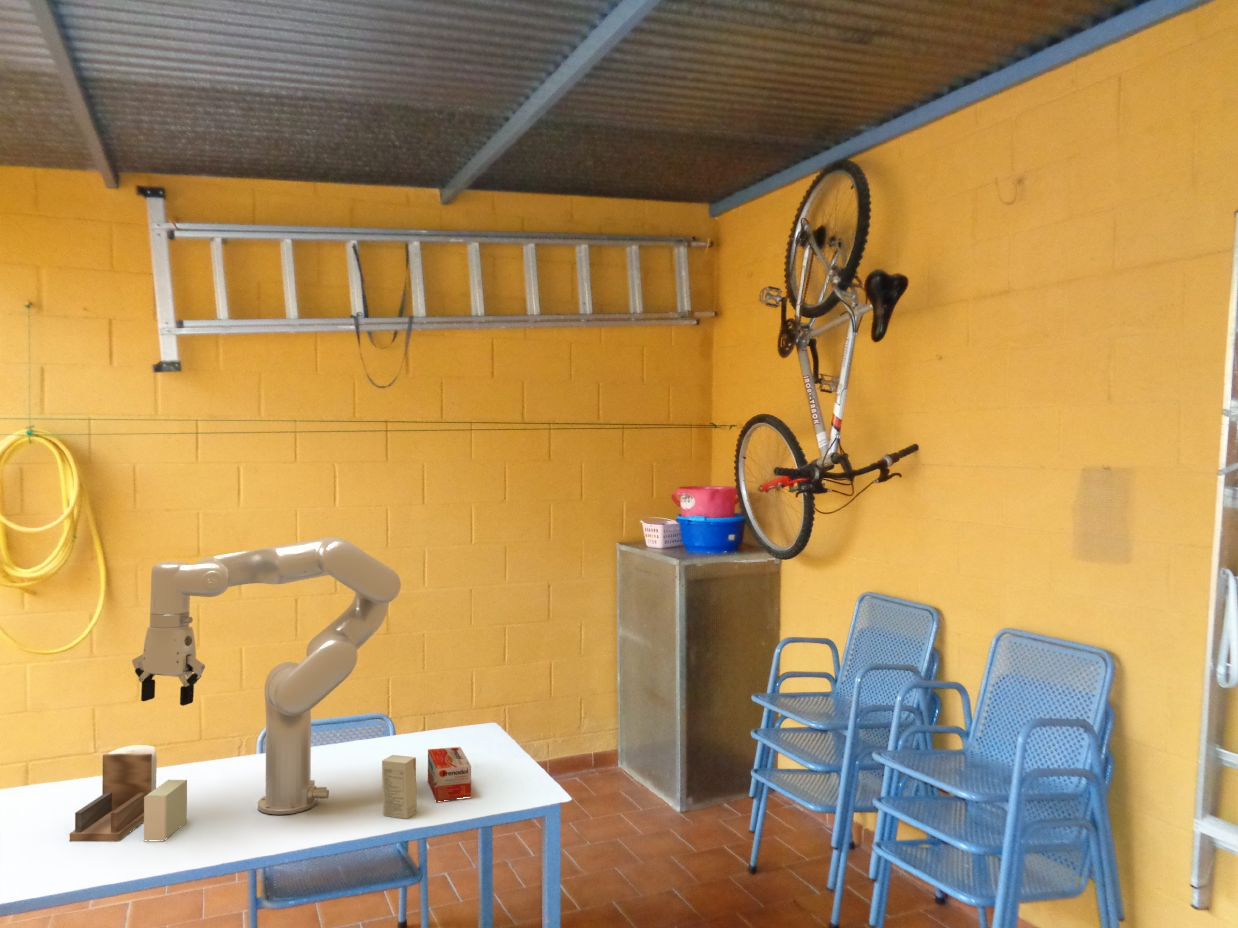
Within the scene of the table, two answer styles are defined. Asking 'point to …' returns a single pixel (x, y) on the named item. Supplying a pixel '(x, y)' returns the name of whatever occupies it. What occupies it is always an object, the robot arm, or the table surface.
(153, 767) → the photo printer
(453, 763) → the medicine box
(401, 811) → the skincare box
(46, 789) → the table surface
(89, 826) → the shelf
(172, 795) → the beige rectangular block
